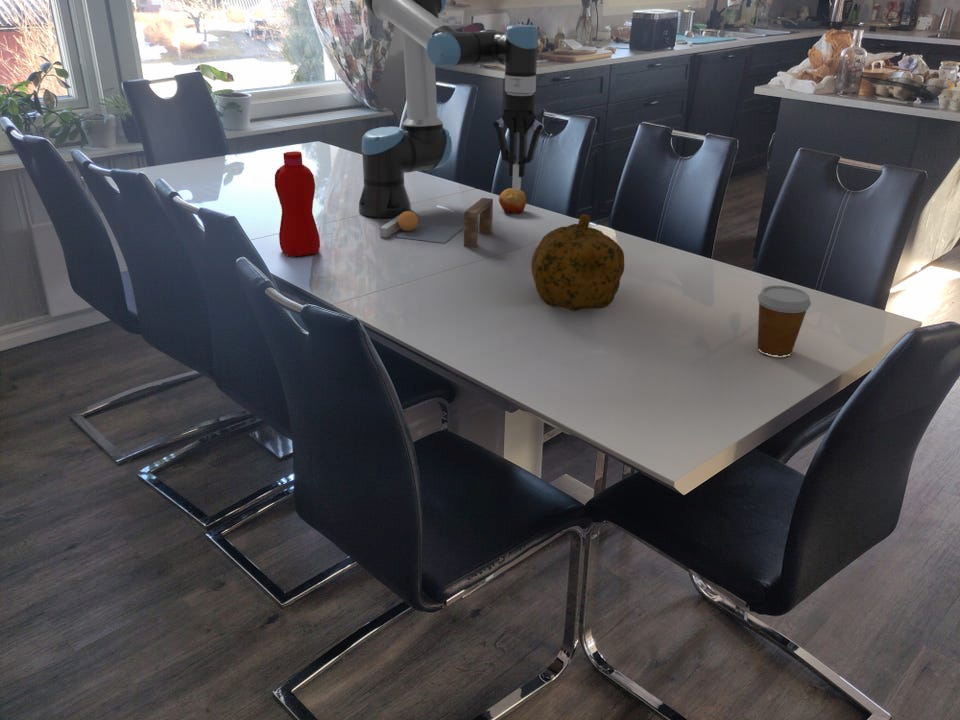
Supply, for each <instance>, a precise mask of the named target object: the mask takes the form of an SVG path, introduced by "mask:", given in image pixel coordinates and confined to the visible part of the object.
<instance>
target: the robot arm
mask: <svg viewBox="0 0 960 720" xmlns="http://www.w3.org/2000/svg"><path fill="white" fill-rule="evenodd" d="M364 4H365V6H366V7H367V9H368V10H369V12H371V14H372V15H374V16H375V17H376V18H377V19H379V20H381V21H383V22H389V23H391V24H392V25H394V26H395V27H396V28H398V29H399V30H401V32H402V42H403V60H404V61H403V62H404V74H405V75H404V78H405V79H404V80H405V81H404V82H405V95H406V113H407V114H406V116H407V117H406V119H405V120H403V122H402V128H401V127H399V126H383V127H382V126H381V127H377V128H373V129H370V130H368V131H366V132H365V133H364V134H363V136H362V140H361V152H362V153H361V154H362V171H363V173H362V174H363V187H362V190H361V195H360V198H359V201H358V212H359V214H361V215H363V216H365V217H369V218H376V219H377V218H379V219H382V218H383V219H384V218H385V219H389V218H390V219H391V218H396V217H397V216H399V215H400V214H402V213H403V212H405V211H411V212H412V207H411V205H412V204H411V200H410V198H409V195H408V192H407V189H406V187H405V174H406V173H407V174H408V173H414V172H419V171H420V172H421V171H426V170H427V171H432V170H435V169H438V168H442V167H443V166H445V165H446V164H447V162H448V161H449V159H450V157H451V155H452V147H453V143H452V137H451V136H450V132H449V130H448V129H447V128H445V127H444V124H443V121H442V119H440V118H439V116H438V107H437V103H438V102H437V84H436V82H437V81H436V67H438V68H439V67H443V68H452V67H463V66H475V65H476V66H478V65H479V66H480V65H493V64H495V65H503V66H505V69H504V91H505V92H506V93H505V94H504V95H503V96H504V101H503V103H504V104H503V113H502V115H501V118H500V119H497V120H495V121H493V122H492V125H493V127H494V129H495V131H496V134H497V140H498V144H499V149H500V155H501V160H502V161H505V162H507V163H508V166H509V167H508V168H509V169H508V176H509V177H512V181H511V183H512V185H511V186H512V187H511V188H512V190H515V191H518V190H519V189H520V190H521V187H522V184H521V183H522V178H524V177H525V175H526V164H530V163H531V162H532V161H533V160H534V157H535V154H536V150H537V146H538V142H539V140H540V137H541V133H542V131H543V130H544V128H546V127H545V126H546V125H545V123H543V122H542V123H541V122H540V121H538V120H537V116H536V113H535V111H536V106H535V105H536V95H535V94H534V93H535V92H536V88H537V67H538V66H537V65H538V46H539V40H538V39H539V35H538V32H539V31H538V28H537V26H535V25H533V24H508V26H506V31H500V30H496V29H483V30H480V31H461V32H460V31H456V29H454V28H452V27H451V26H450V25H448V24H446V23H445V22H444V21H442V20H441V19H439V15H440V14H441V13H443V11H444V10H445V8H446V7H445V6H446V5H447V0H364ZM505 126H506V128H507V129H508V133H509V134H508V136H509V144H508V142H507V137H506V133H505V132H506V131H505ZM532 126H533V133H532V136H531V140H530V144H529V147H528V151H527V145H528V144H527V143H528V134H529V133H528V132H529V131H530V129H531V128H532ZM518 133H519V135H518ZM518 136H519V143H518ZM508 145H509V147H508ZM518 145H519V148H518V149H517V147H518ZM517 150H518V162H517Z"/></svg>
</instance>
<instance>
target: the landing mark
mask: <svg viewBox="0 0 960 720" xmlns="http://www.w3.org/2000/svg"><path fill="white" fill-rule="evenodd" d="M462 230H464V227H456V226H450V225H449V226H447V225H439V224H429V223H422V222H418V226H417V227H416V229H415V230H413V231H410V232H407V231H404V230H402V232H400V233H399V234H398V235H396V236H395V237H397V238H398V239H406V240H411V241H422V242H430V243H437V244H446V243H447V242H448V241H449V240H451V239H453V237H454V236H456V235H457V234H459V233H460V231H462Z"/></svg>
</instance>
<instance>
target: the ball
mask: <svg viewBox="0 0 960 720" xmlns="http://www.w3.org/2000/svg"><path fill="white" fill-rule="evenodd" d="M418 223H419V217H418V215H417V214H416V213H415V212H413V211H412V210H411V211H405V212H403V213H402V214H401V215H400V216H399V218H398V224H399V226H400V229H401V230H402V231H407V232H410V231H413V230H415V229H416V227H417V226H418Z"/></svg>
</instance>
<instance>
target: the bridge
mask: <svg viewBox="0 0 960 720" xmlns="http://www.w3.org/2000/svg"><path fill="white" fill-rule="evenodd" d="M493 207H494V199H493V198H488V197H481V198H480V199H479V200H477V201H476V202H475V203H473V205H471V206H470V207H468V208H467V209H466V210H464V212H463V214H464V217H463V218H464V219H463V223H464V224H463V247H468V248H476V247H477V246H478V243H479V242H478V236H479V235H478V233H479V234H487V235H490V234H492V233H493V213H494V212H493V211H494V208H493ZM478 222H479V223H478ZM478 227H479V229H478Z"/></svg>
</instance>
